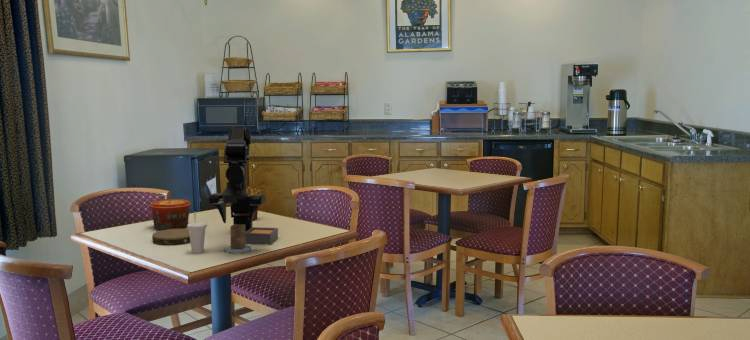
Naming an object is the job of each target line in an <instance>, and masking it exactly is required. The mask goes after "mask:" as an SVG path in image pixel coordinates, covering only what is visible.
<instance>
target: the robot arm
mask: <svg viewBox="0 0 750 340" xmlns="http://www.w3.org/2000/svg"><path fill="white" fill-rule="evenodd" d="M246 127H247V126H246V125H245V126H244V125H232V126H231V129H230V130H229V131H228V133H227V134H228V135H227V141H226V145H224V147H223V149H224V151H223V164H228V165H227V169H226V170H225V178H226V179H227V182H226V187H225V189H224V190H223V191H222V192H214V193H211V194H210V195H208V197H207V202H208V204H211V205H212V206H214V207H215V208H216V209H217V210H218V213H219V215H220V217H221V220H222V222H223V224H226V223H227V204H230V218H233V220H232V221H233V223H232V225H234V224H245V232H246V231H248V230H249V229H251V228H252V227H253V221H252V220H253V218H254V216H255V212H256V210H257V208H258V209H259V207H260V206H261V205H263V204H265V203H266V202H267V200H266V198H267V197H266V195H265V194H264V193H259V194H253V195H251V196H250V193H249V194H248V192H247V188H248V187H247V164H248V161H250V145H252V132H251V131H250V130H249V129H247V128H246Z"/></svg>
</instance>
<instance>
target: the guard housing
mask: <svg viewBox="0 0 750 340" xmlns="http://www.w3.org/2000/svg"><path fill="white" fill-rule="evenodd" d="M254 229H256V230H273V231H271V232H270V233H269V234H268V233H250V232H252V231H253V230H254ZM277 238H278V239H279V229H278V227H255V226H252V228H251V229H249V230H248V231H246V245H260V244H271V245H272V244H274V242H276V241H277V240H278V239H277ZM276 239H277V240H276ZM275 240H276V241H275Z"/></svg>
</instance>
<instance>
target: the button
mask: <svg viewBox="0 0 750 340" xmlns="http://www.w3.org/2000/svg"><path fill="white" fill-rule="evenodd" d="M271 231H273V230H256V229H254V230H253V231H252V232H250V233H268V234H269V233H270V232H271Z"/></svg>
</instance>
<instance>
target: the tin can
mask: <svg viewBox="0 0 750 340" xmlns="http://www.w3.org/2000/svg"><path fill="white" fill-rule="evenodd" d="M151 236H152V243H153V244H154V245H158V246H166V247H167V246H168V247H169V246H181V245H184V246H185V245H188V244H191V242H190V236H189V230H188V228H185V229H168V230H162V231H159V230H157V231H156V232H153V233H152V235H151Z"/></svg>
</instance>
